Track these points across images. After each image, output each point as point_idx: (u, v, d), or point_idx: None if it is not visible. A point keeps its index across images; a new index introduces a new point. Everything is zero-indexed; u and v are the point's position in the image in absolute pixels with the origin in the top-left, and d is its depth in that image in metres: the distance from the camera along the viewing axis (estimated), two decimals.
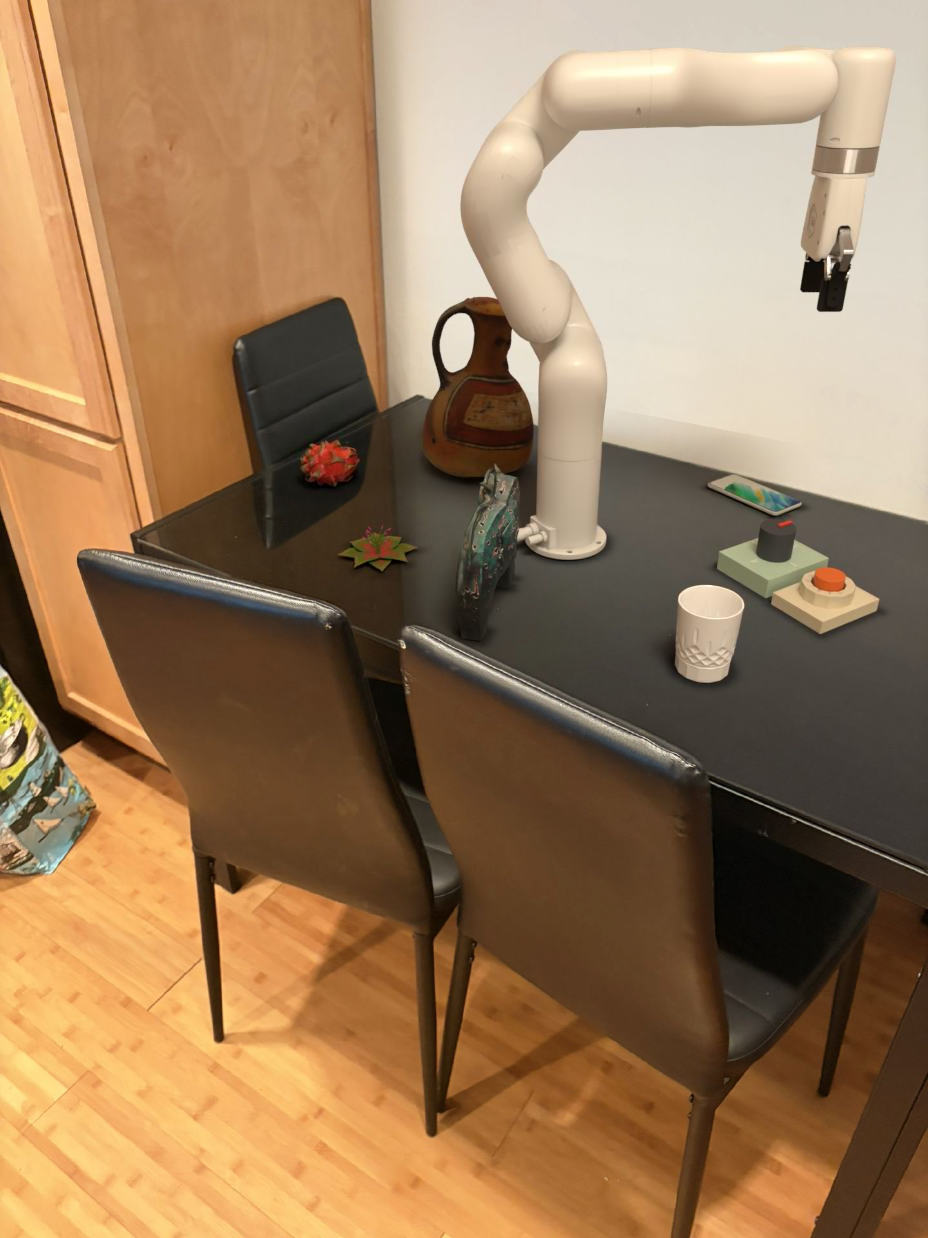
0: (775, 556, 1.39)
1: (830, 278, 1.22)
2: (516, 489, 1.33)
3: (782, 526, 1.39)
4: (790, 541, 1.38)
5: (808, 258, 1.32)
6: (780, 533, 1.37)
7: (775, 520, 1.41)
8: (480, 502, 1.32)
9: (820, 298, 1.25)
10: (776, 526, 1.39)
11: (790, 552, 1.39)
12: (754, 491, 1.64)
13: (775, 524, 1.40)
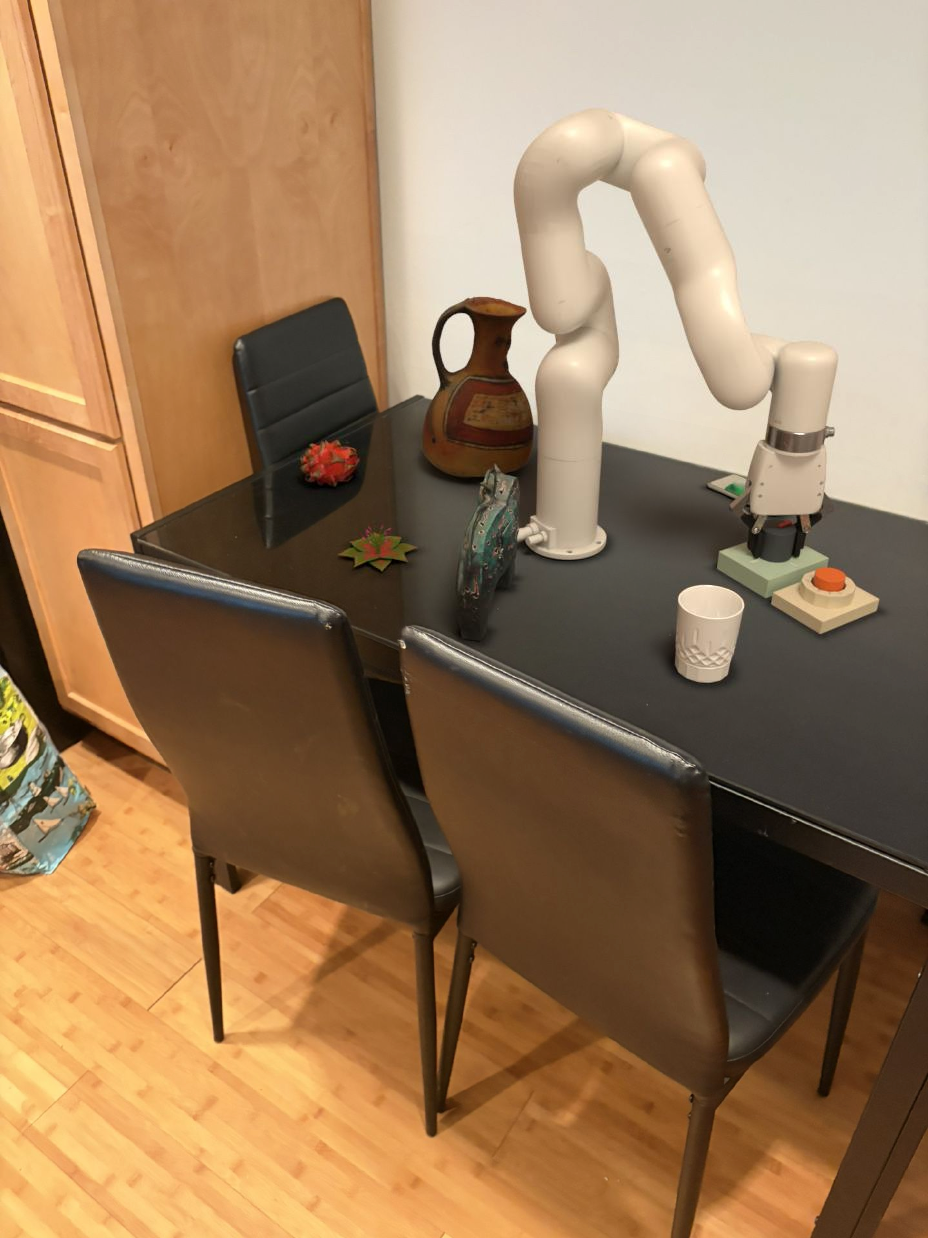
0: (775, 556, 1.39)
1: None
2: (516, 489, 1.33)
3: (782, 526, 1.39)
4: (790, 541, 1.38)
5: None
6: (780, 533, 1.37)
7: (775, 520, 1.41)
8: (480, 502, 1.32)
9: None
10: (776, 526, 1.39)
11: (790, 552, 1.39)
12: None
13: (775, 524, 1.40)
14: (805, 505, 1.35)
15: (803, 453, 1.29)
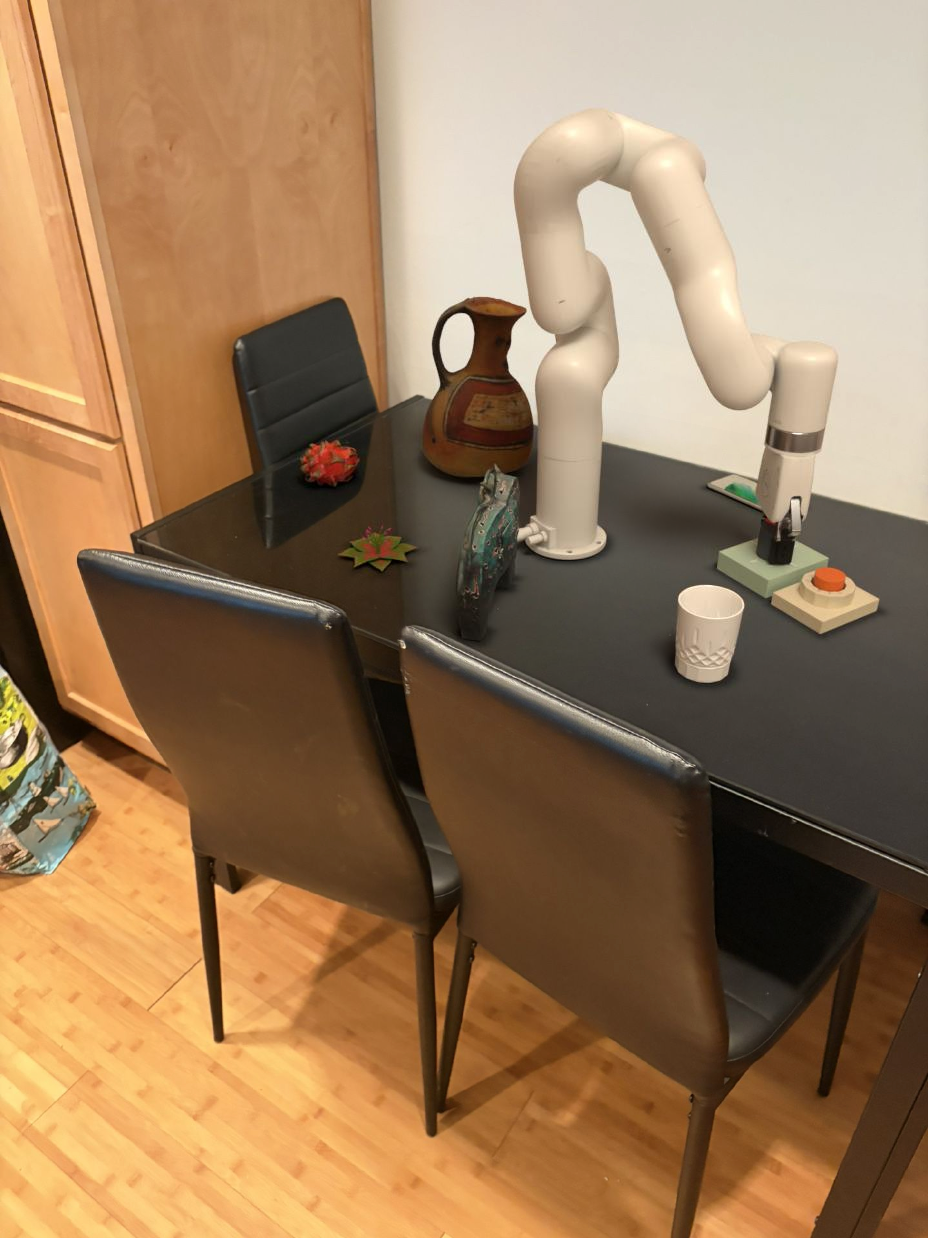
0: None
1: (779, 541, 1.36)
2: (516, 489, 1.33)
3: None
4: None
5: (765, 515, 1.41)
6: None
7: (764, 526, 1.39)
8: (480, 502, 1.32)
9: (771, 553, 1.38)
10: None
11: None
12: (754, 491, 1.64)
13: (774, 527, 1.39)
14: None
15: None
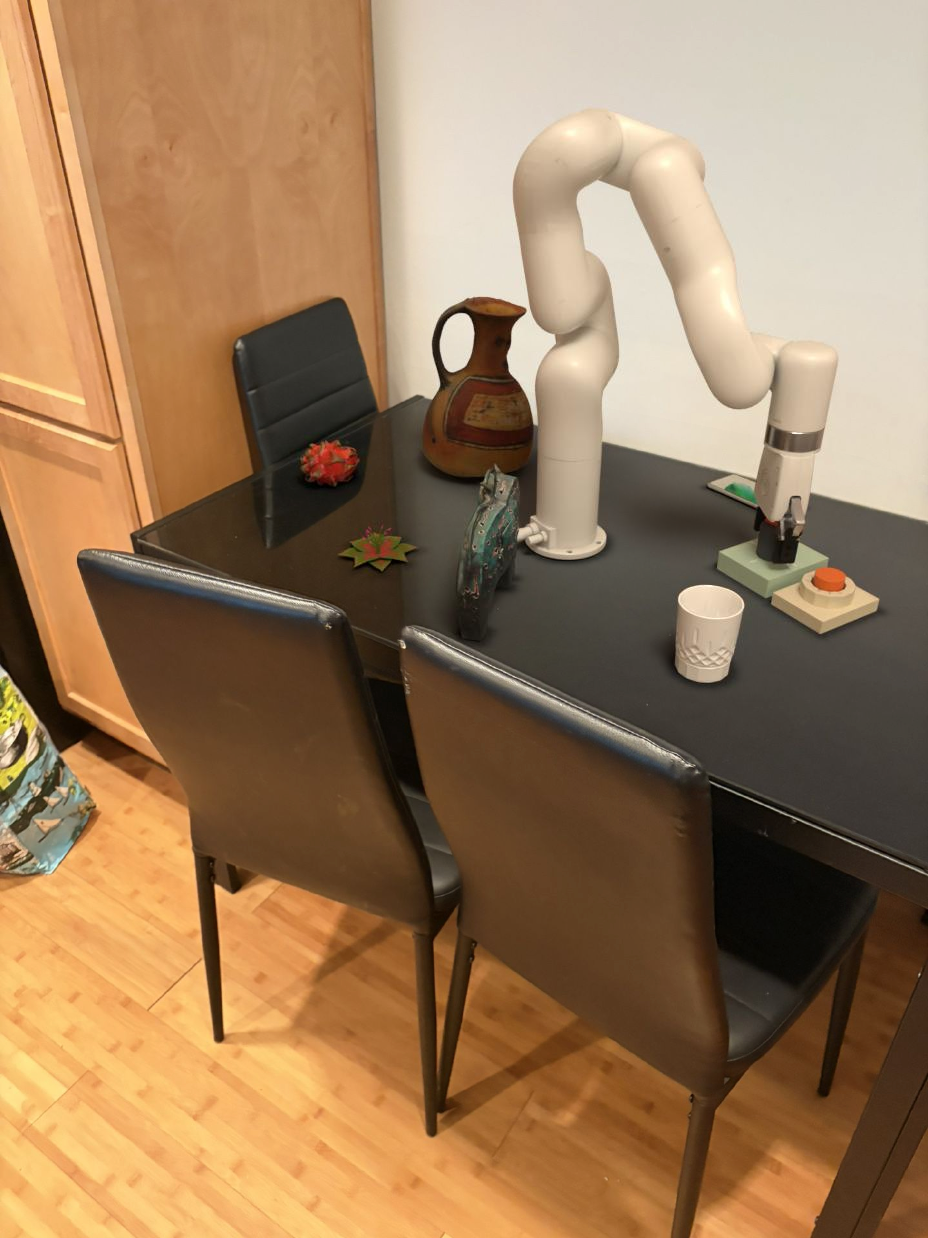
0: None
1: (784, 539, 1.33)
2: (516, 489, 1.33)
3: None
4: None
5: None
6: None
7: (764, 526, 1.39)
8: (480, 502, 1.32)
9: (774, 553, 1.36)
10: None
11: None
12: None
13: (774, 527, 1.39)
14: None
15: None
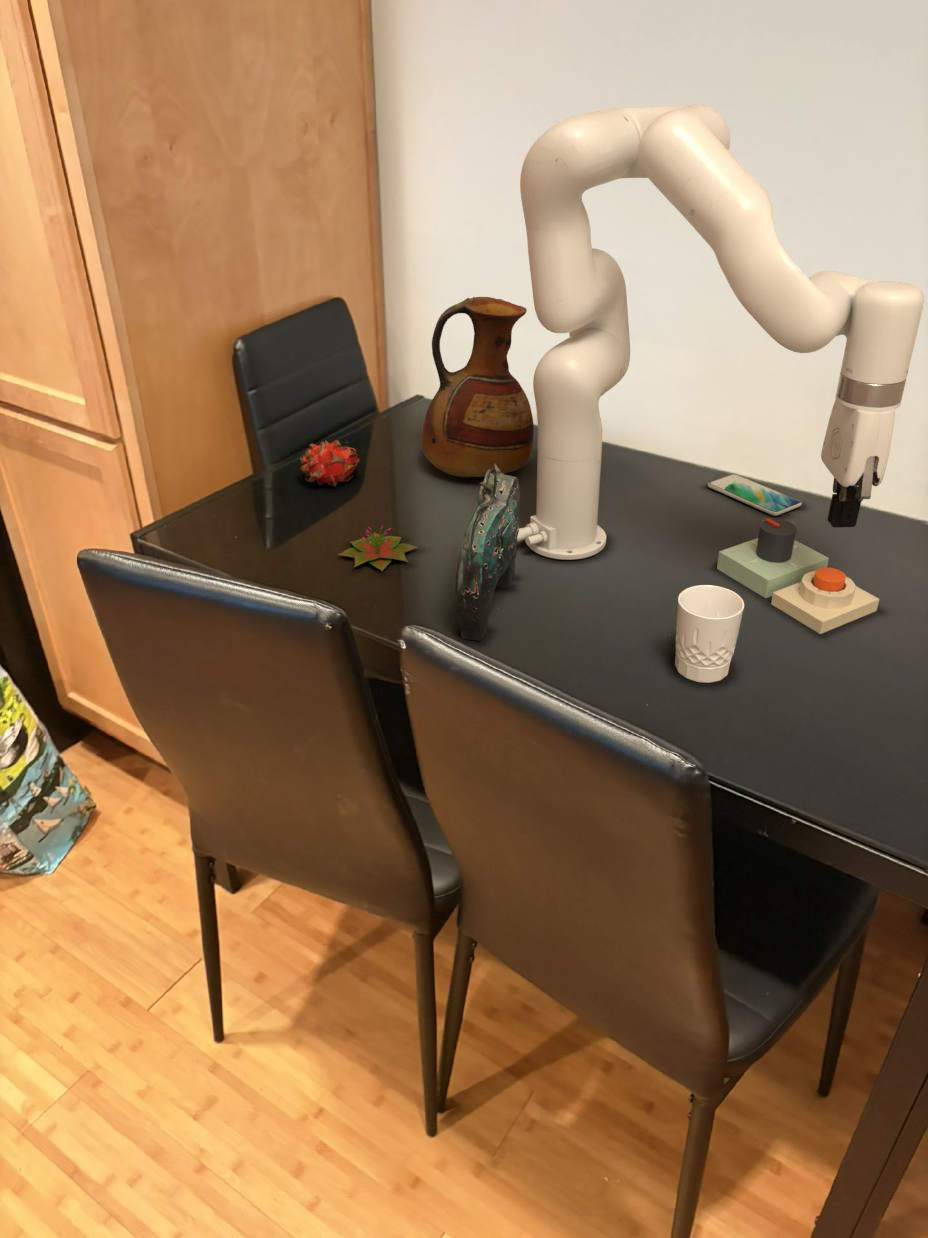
0: (792, 550, 1.40)
1: (844, 501, 1.24)
2: (516, 489, 1.33)
3: None
4: None
5: (837, 487, 1.25)
6: (793, 527, 1.39)
7: (764, 526, 1.39)
8: (480, 502, 1.32)
9: (834, 515, 1.26)
10: (778, 527, 1.39)
11: None
12: (754, 491, 1.64)
13: (774, 527, 1.39)
14: None
15: None
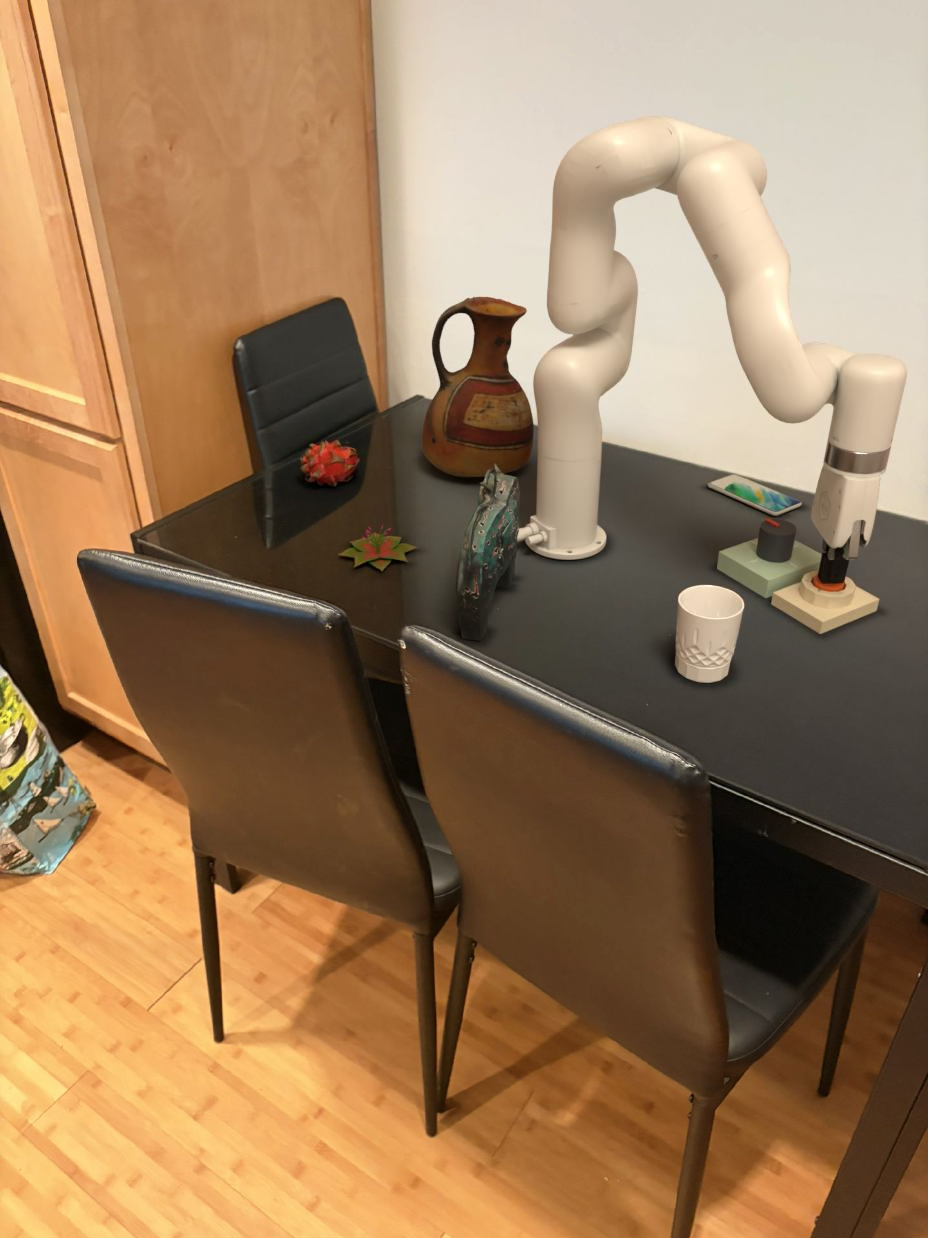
0: (792, 550, 1.40)
1: (832, 559, 1.29)
2: (516, 489, 1.33)
3: None
4: None
5: (826, 546, 1.30)
6: (793, 527, 1.39)
7: (764, 526, 1.39)
8: (480, 502, 1.32)
9: (823, 573, 1.31)
10: (778, 527, 1.39)
11: None
12: (754, 491, 1.64)
13: (774, 527, 1.39)
14: None
15: None
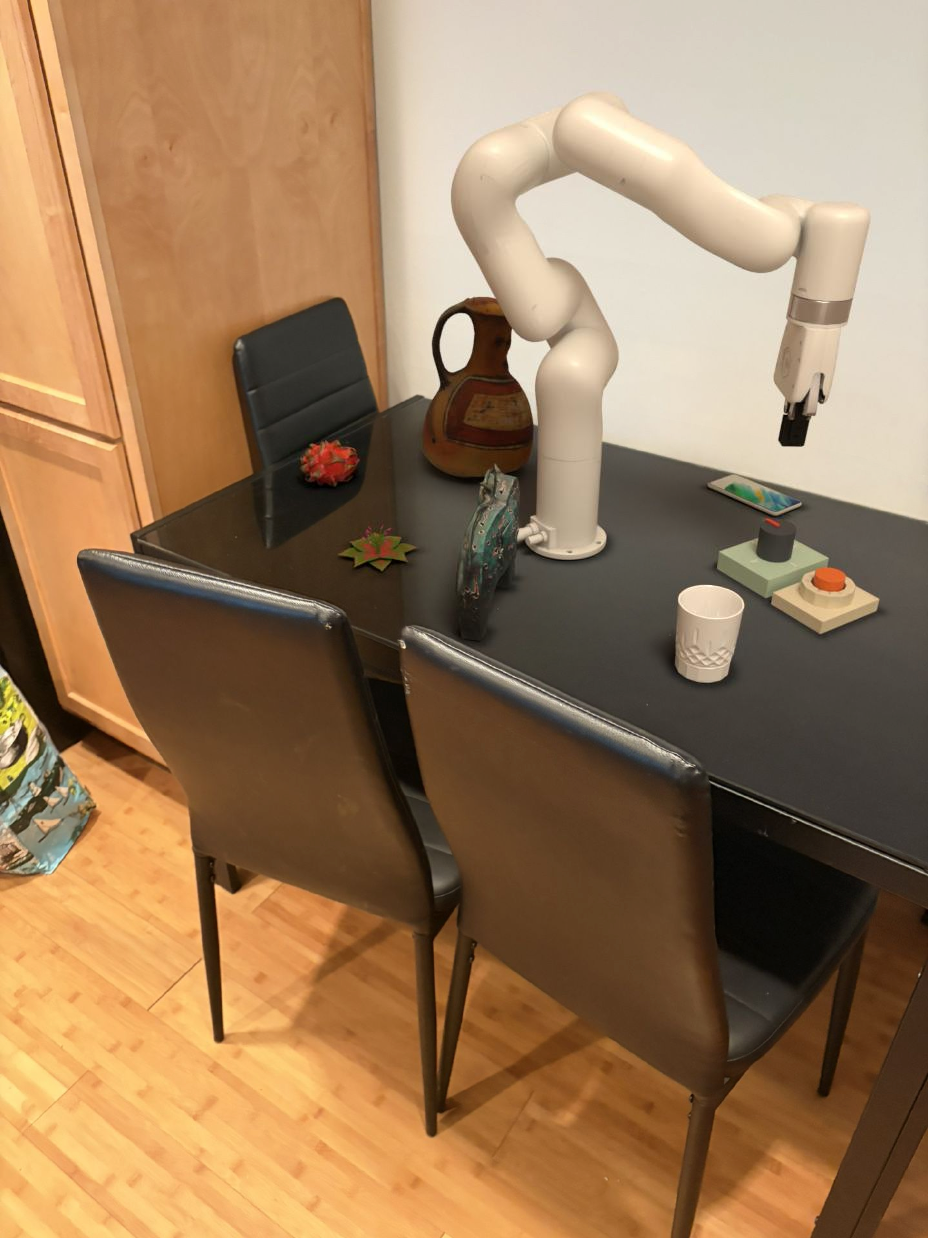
0: (792, 550, 1.40)
1: (792, 420, 1.29)
2: (516, 489, 1.33)
3: None
4: None
5: (787, 407, 1.30)
6: (793, 527, 1.39)
7: (764, 526, 1.39)
8: (480, 502, 1.32)
9: (783, 434, 1.31)
10: (778, 527, 1.39)
11: None
12: (754, 491, 1.64)
13: (774, 527, 1.39)
14: None
15: None
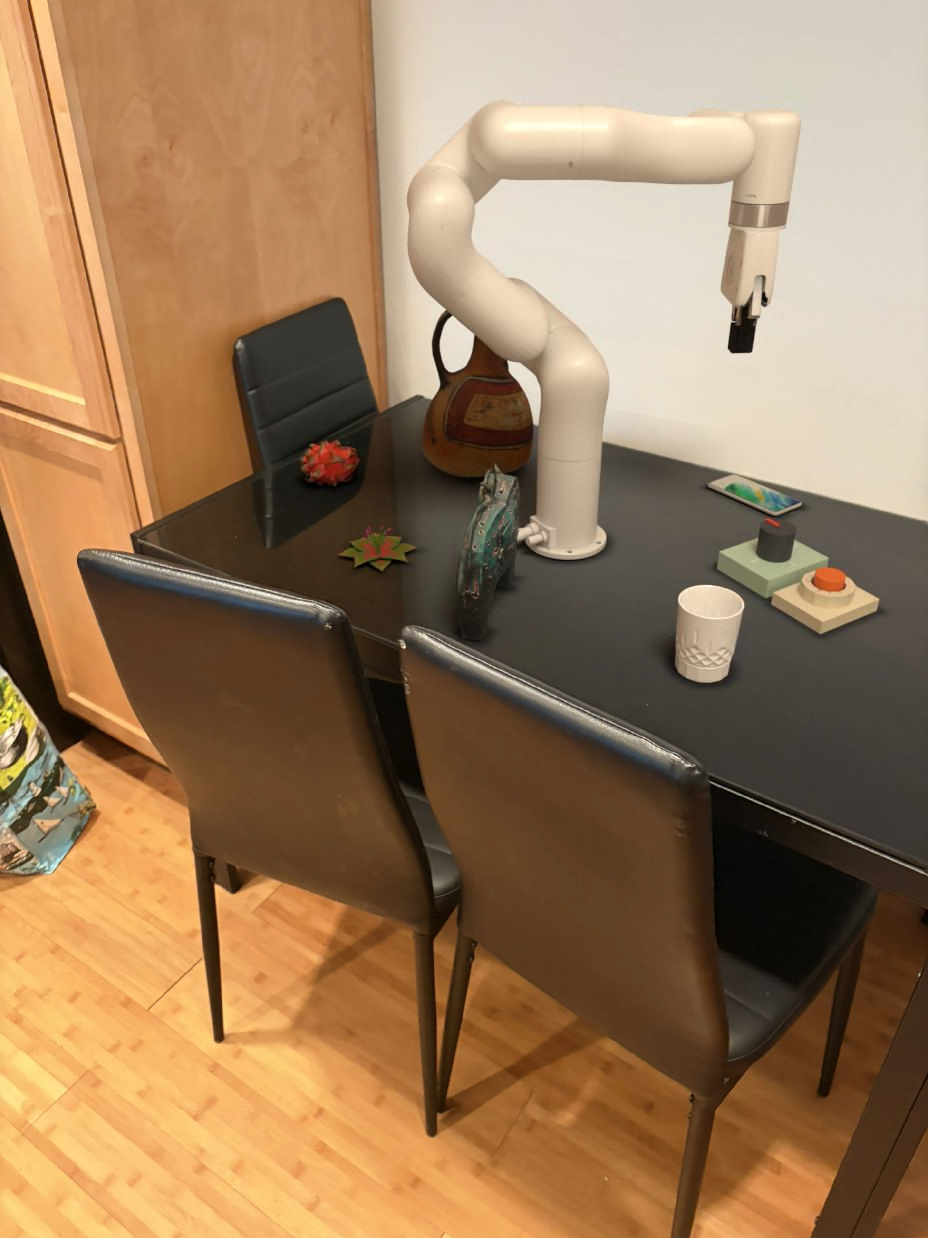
0: (792, 550, 1.40)
1: (739, 325, 1.35)
2: (516, 489, 1.33)
3: None
4: None
5: (734, 315, 1.36)
6: (793, 527, 1.39)
7: (764, 526, 1.39)
8: (480, 502, 1.32)
9: (732, 341, 1.37)
10: (778, 527, 1.39)
11: None
12: (754, 491, 1.64)
13: (774, 527, 1.39)
14: None
15: None
